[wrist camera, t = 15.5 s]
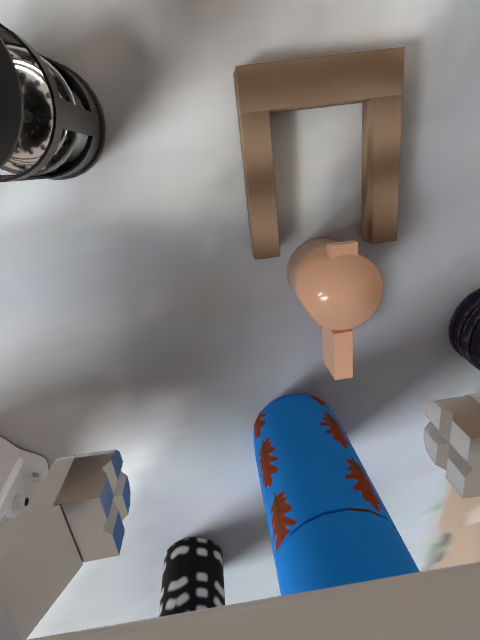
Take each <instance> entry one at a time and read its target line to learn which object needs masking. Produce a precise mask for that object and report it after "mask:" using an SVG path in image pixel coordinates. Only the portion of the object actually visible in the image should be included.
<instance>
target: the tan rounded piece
mask: <svg viewBox="0 0 480 640" xmlns="http://www.w3.org/2000/svg"><path fill="white" fill-rule="evenodd" d="M287 280H288V283H289V285H290V287H291V289H292V291H293V292H294V293H295V295H296V296H297V297H298V299H299V300H300V302H301V303H302V304H303V306H304V307H305V309H306V310H307V311H308V313H309V314H310V315H311V317H312V318H313V319H314V320H315V321H316V322H317V323H318V324H320V325H321V326H322V347H323V362H324V363H325V365H326V367H327V368H328V370H329V372H330V373H331V375H332V376H333V378H334V380H340V379H347V378H353V331H352V330H351V328H354V327H357V326H359V325H361V324H362V323H364V322H365V321H366V320H368V319H369V318H370V317H371V316H372V315H373V314H374V312H375V311H376V309H377V308H378V306H379V304H380V302H381V299H382V295H383V279H382V276H381V273H380V271H379V270H378V268H377V267H376V266H375V265H374V264H373V263H372V262H371V261H370V260H368V259H367V258H365V257H363V256H361V255H360V254H358V242H357V241H355V240H350V241H343V242H337V241H335V240H332V239H329V238H316V239H312V240H309V241H307V242H305V243H303V244H302V245H301V246H299V247H298V248H297V249H296V250H295V252H294V253H293V254H292V256H291V258H290V260H289V262H288V266H287Z"/></svg>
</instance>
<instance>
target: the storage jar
mask: <svg viewBox="0 0 480 640" xmlns="http://www.w3.org/2000/svg"><path fill="white" fill-rule="evenodd" d="M449 339H450V342H451V345H452V347H453V348H454V349H455V350H456V352H458V353H459V354H460V355H462V356H463V357H465V358H466V359H467V360H468V361H469V362H470V363H471V364H472V365H473V366H475V367H476V368H477V369H479V370H480V289H478V290H476V291H474V292H473V293H471V294H470V295H468V296H467V297H466V298H465V299H464V300H463V301H462V302H461V303H460V304H459V306H458V307H457V308H456V310H455V312H454V314H453V315H452V318H451V321H450V325H449Z"/></svg>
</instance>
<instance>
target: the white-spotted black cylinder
mask: <svg viewBox="0 0 480 640" xmlns="http://www.w3.org/2000/svg"><path fill="white" fill-rule="evenodd" d="M220 606H225V595H224V576H223V557H222V551H221V549H220V548H219V546H218V545H217V544H215V543H214V542H212V541H210V540H208V539H204V538H188V539H184V540H181V541H178V542H177V543H175V544H173V545H172V546H171V547H170V548H169V549H168V550H167V552H166V554H165V558H164V569H163V579H162V590H161V600H160V611H159V617H162V616H168V615H173V614H179V613H185V612H191V611H196V610H202V609H208V608H214V607H220Z"/></svg>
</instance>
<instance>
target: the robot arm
mask: <svg viewBox="0 0 480 640" xmlns="http://www.w3.org/2000/svg"><path fill="white" fill-rule="evenodd" d="M425 415H426V417H427V418H428V419H429V420H430V422H429V423H428V424H427V426H426V427H425V428H424V443H425V447H426V450H427V452H428V454H429V456H430V458H431V459H432V461H433V462H434V463H435V465H437V466H439V467H441V468H443V469H445V470H447V471H446V479H447V480H448V481H449V483H450V484H451V485H452V486H453V488H454V489H455V490H456V491H457V493H458V494H459V495H460V496H461V498H462V499H463V498H470V497H477V496H480V393H475V394H470V395H465V396H462V397H455V398H449V399H443V400H437V401H430V402H428V404H427V406H426V411H425ZM122 464H123V461H122V458H121V455H120V452H119V451H118V450H110V451H103V452H95V453H88V454H80V455H74V456H67V457H60V458H57V459H56V460H55V461H54V462H53V464H52V465H51V467H50V469H48V463H47V461H46V459H45V458H43V457H42V456H40V455H37V454H34V453H31V452H28V451H24V450H21V449H19V448H17V447H16V446H14V445H13V444H11V443H10V442H8V441H7V440H5V439H3V438H2V437H0V640H26V639H27V637H28V636H29V635H30V633H31V632H32V631H33V629H34V628H35V627H36V625H37V624H38V623H39V621H40V620H41V619H42V618H43V616H44V615H45V614H46V612H47V611H48V610H49V608H50V607H51V606H52V604H53V603H54V602H55V601H56V599H57V598H58V597H59V595H60V594H61V593H62V591H63V590H64V589H65V587H66V586H67V585H68V583H69V582H70V581H71V580H72V578H73V577H74V576H75V574H76V573H77V572H78V570H79V569H80V568H81V566H82V565H83V563H82V562H87V561H92V560H97V559H103V558H108V557H113V556H118V555H119V554H120V549H121V545H122V540H123V536H124V531H125V529H124V526H123V523H122V520H123V519H124V518H125V517H126V516H127V515H128V512H129V507H130V486H129V481H128V477H127V475H126V474H124V473H123V472H122V471H121V467H122ZM35 472H36V473H35ZM37 473H38V474H37ZM29 640H480V562H475V563H469V564H463V565H457V566H451V567H446V568H440V569H434V570H428V571H422V572H417V573H411V574H405V575H399V576H393V577H388V578H382V579H376V580H370V581H364V582H359V583H353V584H347V585H341V586H335V587H330V588H324V589H318V590H312V591H307V592H301V593H295V594H289V595H283V596H278V597H272V598H266V599H260V600H254V601H249V602H243V603H237V604H231V605H225V606H220V607H214V608H208V609H202V610H196V611H191V612H185V613H179V614H173V615H168V616H162V617H156V618H150V619H144V620H139V621H133V622H127V623H121V624H116V625H110V626H104V627H98V628H92V629H87V630H81V631H75V632H69V633H64V634H58V635H52V636H46V637H40V638H35V639H29Z"/></svg>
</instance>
